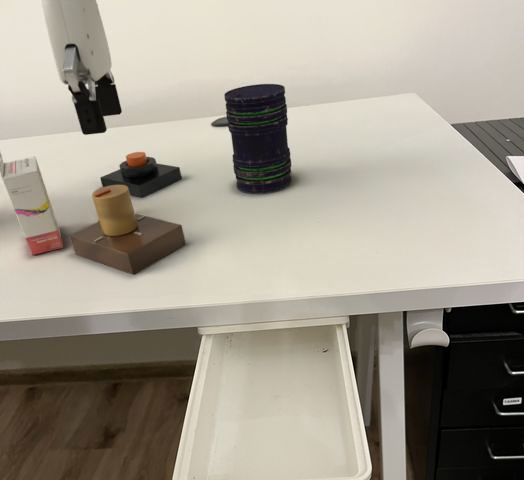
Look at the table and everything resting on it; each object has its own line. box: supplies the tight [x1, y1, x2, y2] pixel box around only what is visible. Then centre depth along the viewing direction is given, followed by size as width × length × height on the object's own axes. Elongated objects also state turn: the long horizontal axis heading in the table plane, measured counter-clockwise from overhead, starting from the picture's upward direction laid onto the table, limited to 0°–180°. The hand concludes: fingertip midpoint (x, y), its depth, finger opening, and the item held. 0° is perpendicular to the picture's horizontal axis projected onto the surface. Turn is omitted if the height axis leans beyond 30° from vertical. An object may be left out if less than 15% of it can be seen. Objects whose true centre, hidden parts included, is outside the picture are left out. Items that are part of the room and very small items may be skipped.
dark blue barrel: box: [223, 83, 293, 195], centre depth 91 cm, size 10×10×15 cm
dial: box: [91, 185, 138, 236], centre depth 77 cm, size 5×5×6 cm
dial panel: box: [69, 212, 186, 275], centre depth 79 cm, size 13×10×3 cm
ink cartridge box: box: [0, 151, 64, 256], centre depth 81 cm, size 9×5×15 cm, turn 22°
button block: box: [99, 156, 183, 199], centre depth 101 cm, size 11×10×4 cm
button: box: [125, 151, 148, 167], centre depth 100 cm, size 4×4×2 cm
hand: (103, 123), depth 77 cm, fingers open, 9 cm apart
